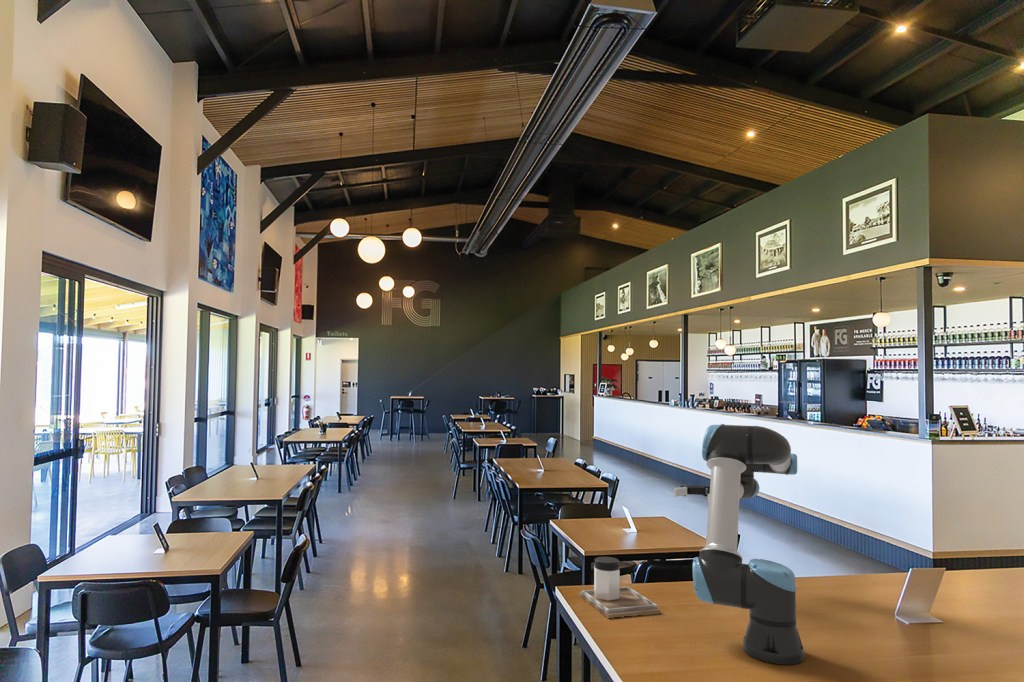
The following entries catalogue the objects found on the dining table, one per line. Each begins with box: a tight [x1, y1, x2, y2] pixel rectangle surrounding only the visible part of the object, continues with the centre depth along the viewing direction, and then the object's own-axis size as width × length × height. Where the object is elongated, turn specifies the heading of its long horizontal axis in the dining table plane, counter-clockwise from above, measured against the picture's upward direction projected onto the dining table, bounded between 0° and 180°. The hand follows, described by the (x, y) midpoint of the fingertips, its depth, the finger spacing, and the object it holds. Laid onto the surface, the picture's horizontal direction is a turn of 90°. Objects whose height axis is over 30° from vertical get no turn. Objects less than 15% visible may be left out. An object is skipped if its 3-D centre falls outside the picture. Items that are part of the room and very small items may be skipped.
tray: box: [578, 586, 661, 619], centre depth 202 cm, size 22×18×2 cm
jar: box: [593, 556, 621, 601], centre depth 206 cm, size 9×8×12 cm
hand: (691, 495), depth 208 cm, fingers open, 13 cm apart
